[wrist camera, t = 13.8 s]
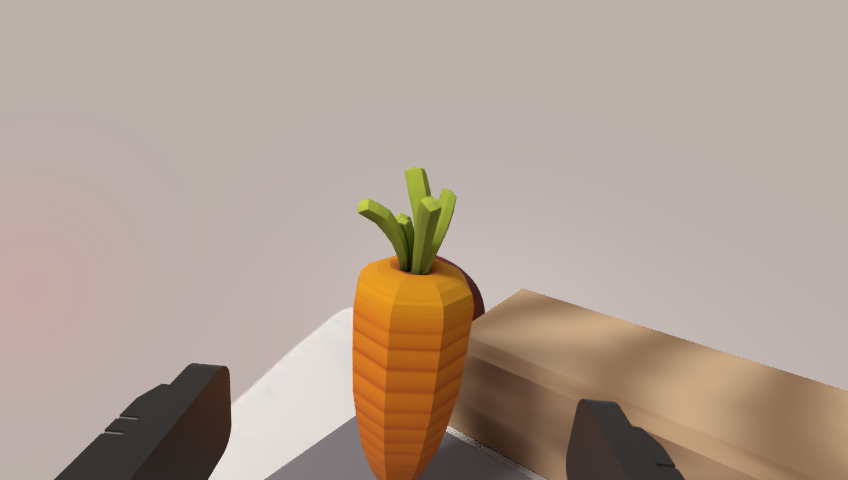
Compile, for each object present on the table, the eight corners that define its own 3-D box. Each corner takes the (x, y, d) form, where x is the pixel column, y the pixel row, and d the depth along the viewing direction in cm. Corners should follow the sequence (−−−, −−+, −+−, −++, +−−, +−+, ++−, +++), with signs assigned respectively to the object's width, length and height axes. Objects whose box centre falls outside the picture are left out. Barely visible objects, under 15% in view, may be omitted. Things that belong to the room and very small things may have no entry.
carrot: (429, 560, 18) (477, 193, 14) (320, 518, 19) (330, 171, 15) (459, 471, 23) (502, 173, 18) (368, 441, 24) (388, 158, 20)
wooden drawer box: (819, 491, 24) (860, 395, 22) (896, 919, 11) (1010, 763, 9) (510, 362, 34) (522, 288, 32) (355, 506, 21) (361, 393, 19)
